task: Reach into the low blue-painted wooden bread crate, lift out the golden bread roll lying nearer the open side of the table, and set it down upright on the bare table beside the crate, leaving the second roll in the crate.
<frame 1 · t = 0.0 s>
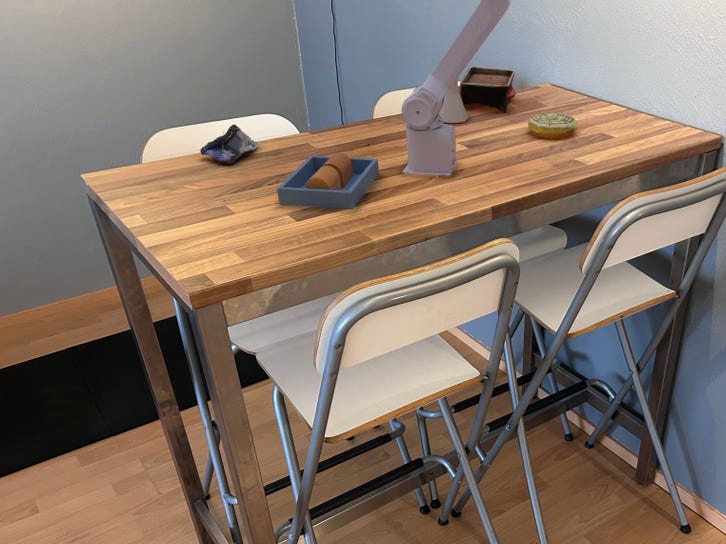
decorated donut: (552, 134, 166), on the table
bread roll: (325, 195, 135), point 1 cm above the table, touching bread crate
flask: (453, 120, 175), on the table
square planter pot: (486, 105, 184), on the table
bread crate: (331, 191, 138), on the table
snack package: (233, 157, 155), on the table
second roll: (337, 181, 141), point 1 cm above the table, touching bread crate
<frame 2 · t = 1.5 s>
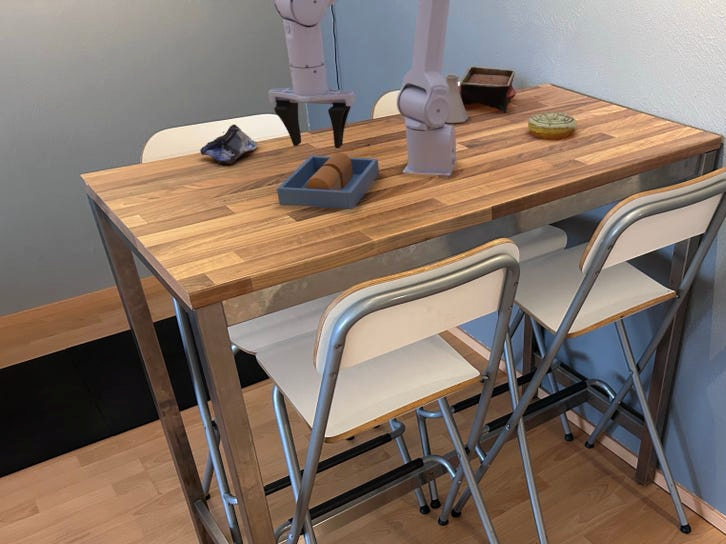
hand: (318, 145, 130), 10 cm above the table, tool pointing down, fingers open, 7 cm apart
nothing on the table moved.
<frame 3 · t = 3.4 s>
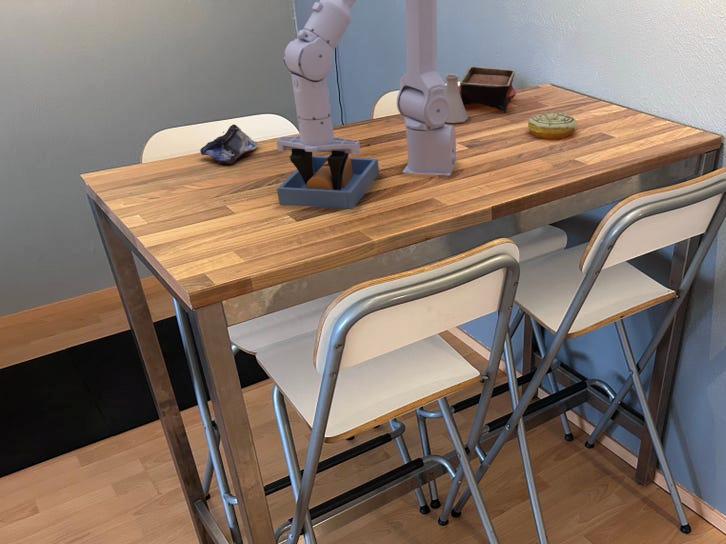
hand: (324, 190, 134), 2 cm above the table, tool pointing down, fingers closed on bread roll, 4 cm apart
bread roll: (325, 195, 135), point 1 cm above the table, touching bread crate, gripper
everything else where it was.
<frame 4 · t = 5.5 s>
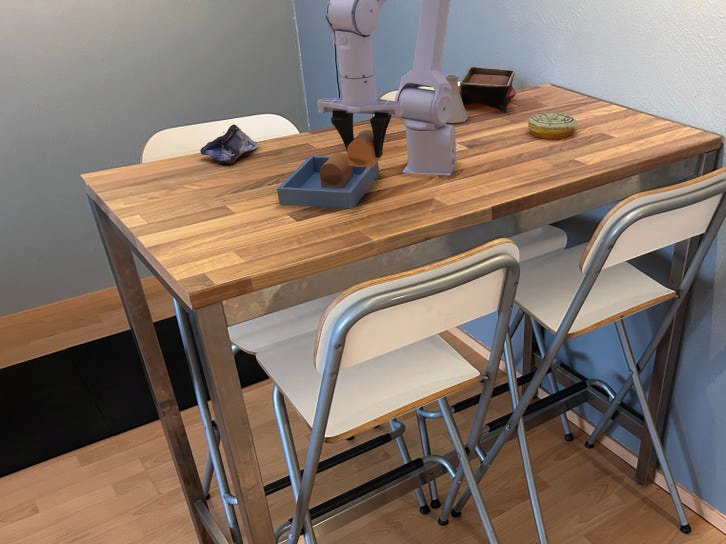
hand: (365, 155, 129), 9 cm above the table, tool pointing down, fingers closed on bread roll, 4 cm apart
bread roll: (365, 160, 130), point 8 cm above the table, touching gripper
everything else where it was.
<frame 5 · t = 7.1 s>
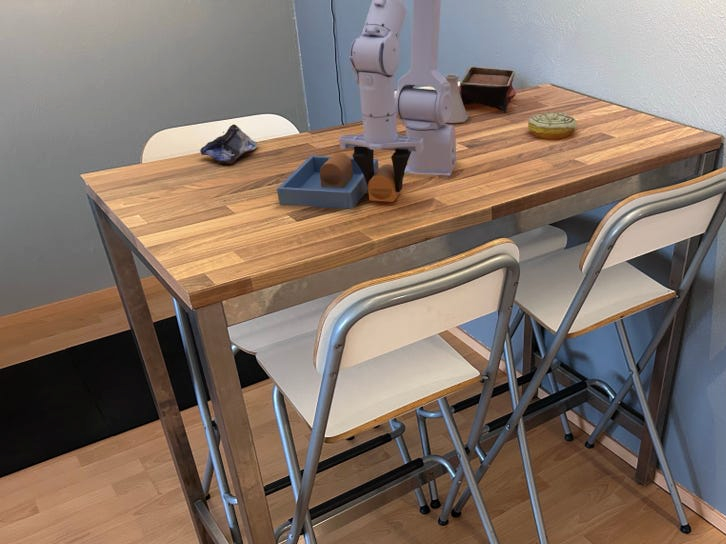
hand: (385, 189, 132), 2 cm above the table, tool pointing down, fingers closed on bread roll, 4 cm apart
bread roll: (385, 194, 133), point 1 cm above the table, touching gripper
everything else where it was.
when the fingers open (1 cm above the table, at t = 8.0 s): bread roll stays where it is, on the table.
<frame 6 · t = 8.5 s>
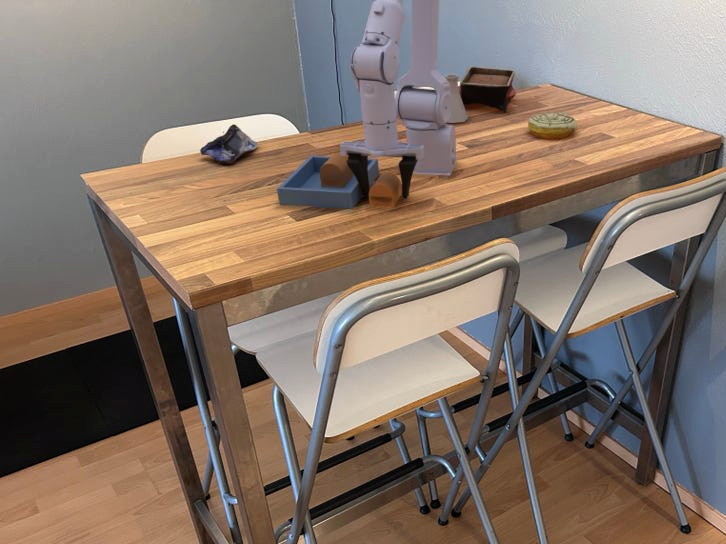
hand: (386, 195, 133), 1 cm above the table, tool pointing down, fingers open, 7 cm apart
bread roll: (386, 202, 134), on the table
everything else where it was.
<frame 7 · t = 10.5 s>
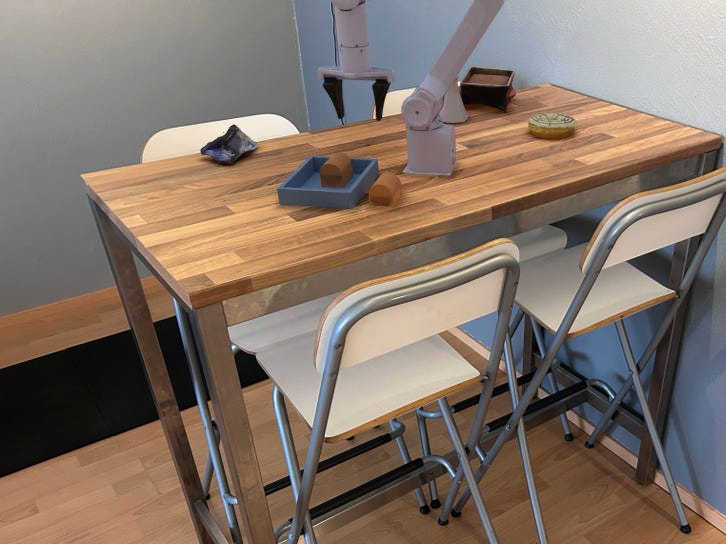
hand: (360, 118, 144), 9 cm above the table, tool pointing down, fingers open, 7 cm apart
nothing on the table moved.
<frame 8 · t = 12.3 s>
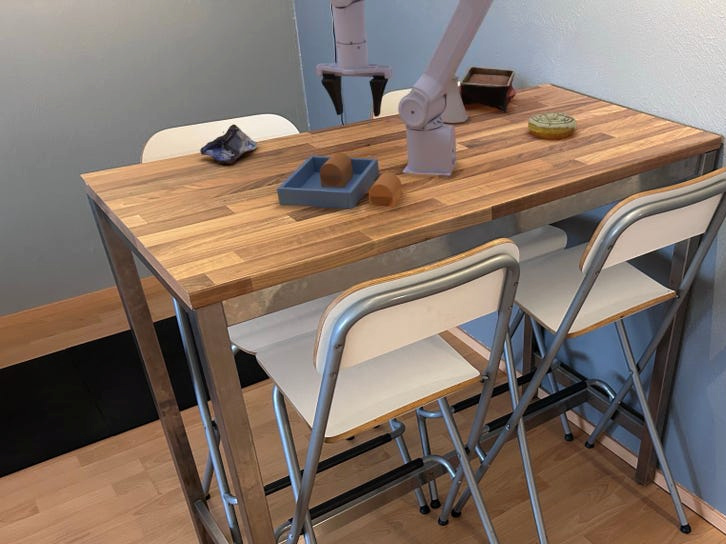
hand: (358, 114, 147), 9 cm above the table, tool pointing down, fingers open, 7 cm apart
nothing on the table moved.
at the end: bread roll inside the target area (0.3 cm from its centre), on the table; bread roll tilted 0°; second roll moved 0.0 cm from its start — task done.
